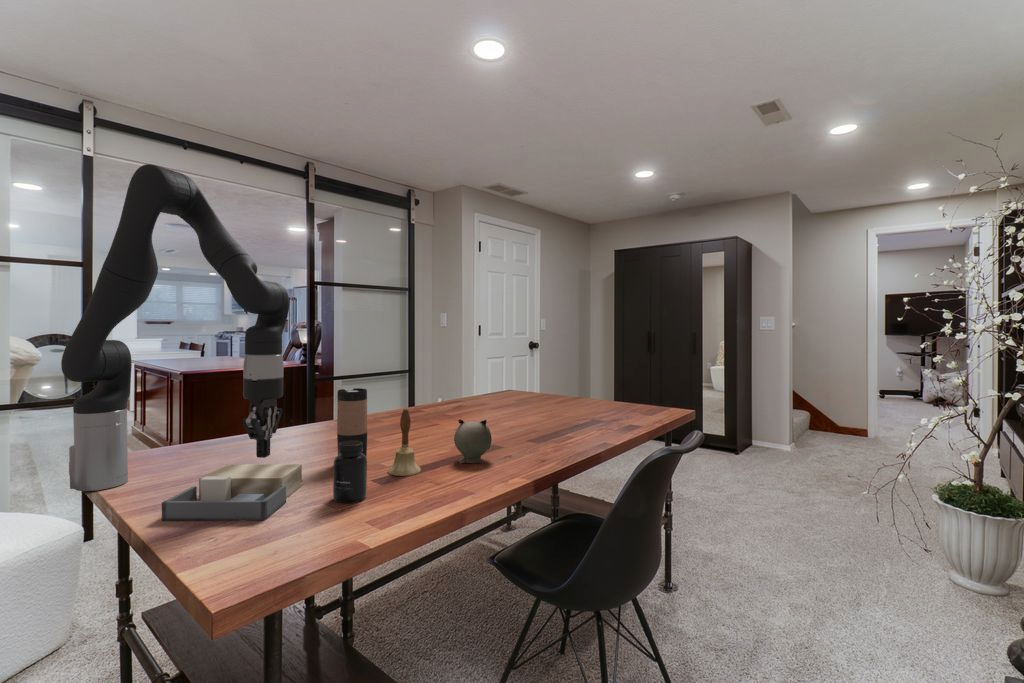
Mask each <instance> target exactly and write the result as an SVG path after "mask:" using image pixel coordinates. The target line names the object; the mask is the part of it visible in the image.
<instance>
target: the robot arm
mask: <svg viewBox="0 0 1024 683" xmlns="http://www.w3.org/2000/svg"><path fill="white" fill-rule="evenodd" d="M161 213H162V214H168V215H171V216H177V217H179V218H180V219H182V220H183V221H184V222H185V223H187V224H188V225H189V226H190V227H191V228H192V229H193V231H194V232H195V233H196V235H197V239H198V244H199V248H200V251H201V253H202V255H203V257H204V258H205V260H206V261H207V262H208V264H209V265H210V266H211V267H212V268H213V269H214V271H216V273H218V275H219V276H220V277H221V278H222V279H223V280H224V281H225V283H226V287H227V288H228V291H229V292H230V294H231V295H232V298H233V300H234V301H235V302H236V303H237V305H238V306H239V307H240V308H242V309H243V311H245V312H247V313H249V314H252V315H257V318H256V321H255V324H254V325H252V326H250V327H248V328H247V329H246V331H245V334H244V357H243V358H244V360H243V367H242V368H243V370H242V372H243V373H242V374H243V375H242V376H243V379H242V380H243V381H242V382H243V383H242V387H243V388H242V391H243V392H242V396H243V398H244V399H245V400H248V401H249V402H250V403H249V408H248V412H249V415H248V417H244V418H242V420H241V423H242V426H243V427H244V429H245V432H246V433H247V435H248V437H249V439H250V440H254V441H256V443H255V444H256V446H255V447H256V452H255V454H256V455H255V456H256V457H257V458H260V459H261V458H262V459H263V458H265V459H266V458H267V457H269V456H270V455H271V439H272V437H273V434H276V432H277V430H278V427H279V424H280V420H281V418H282V414H283V408H282V407H281V408H279V407H278V401H277V400H278V399H280V398H282V397H283V395H284V367H285V366H284V359H283V333H284V331H285V327H286V324H287V319H288V315H289V311H290V296H289V293H288V291H287V289H286V287H285V286H283V285H282V284H281V283H278V282H274V281H268V280H262V279H261V278H260V277H259V276H258V275H257V273H258V266H257V263H256V261H255V260H254V259H253V258H252V257H251V255H250V254H248V253H247V252H246V250H245V249H244V248H243V247H242V246H241V245H240V243H239V242H237V240H236V239H235V238H234V237H233V236H232V234H231V233H230V231H228V229H227V228H226V227H225V225H224V224H223V223H222V221H221V220H220V218H219V217H218V215H217V214H216V212H215V211H214V209H213V208H212V206H211V205H210V203H209V202H208V200H207V198H206V197H205V195H204V193H203V192H202V190H201V189H200V187H199V186H198V184H197V183H196V182H195V181H194V180H193V179H192V178H191V177H189V176H187V175H186V174H184V173H181V172H179V171H176V170H173V169H169V168H166V167H163V166H160V165H157V164H150V163H147V164H143V165H141V166H139V167H138V168H137V169H136V170H135V171H134V173H133V175H131V179H130V180H129V184H128V186H127V191H126V194H125V198H124V202H123V207H122V211H121V215H120V219H119V222H118V225H117V228H116V231H115V233H114V234H115V235H114V237H113V239H112V242H111V246H110V248H109V251H108V253H107V255H106V258H105V260H104V262H103V264H102V267H101V269H100V272H99V274H98V277H97V280H96V283H95V286H94V289H93V291H92V294H91V297H90V298H89V301H88V303H87V305H86V308H85V310H84V313H83V314H82V317H81V318H80V319H79V322H78V324H77V325H76V327H75V329H74V331H73V333H72V334H71V337H70V338H69V340H68V342H67V343H66V346H65V347H64V350H63V352H62V356H61V363H60V366H61V372H62V374H63V376H64V377H65V378H66V379H67V380H69V381H70V382H74V383H88V382H90V383H91V382H97V384H96V386H95V387H94V388H93V389H92V390H91V391H90V392H87V393H86V394H83V395H82V396H80V397H77V398H76V399H75V400H73V403H72V404H73V405H72V407H73V408H72V409H73V445H71V446H69V448H68V453H69V454H68V457H69V465H68V466H69V489H70V490H75V491H79V492H92V491H94V492H95V491H101V490H106V489H112V488H115V487H119V486H121V485H124V484H126V483H128V481H129V466H128V465H129V464H128V463H129V462H128V460H129V458H128V454H129V453H128V452H129V451H128V450H129V449H128V401H129V398H130V396H131V395H130V394H131V382H132V355H131V351H130V349H129V346H128V345H127V344H126V343H124V342H123V341H121V340H117V339H108V337H109V335H110V333H112V331H113V330H114V329H115V328H116V327H117V325H119V324H120V323H122V322H123V321H124V320H125V319H126V318H128V317H129V316H130V315H131V314H133V313H134V312H135V311H136V310H138V309H139V308H140V307H142V305H143V304H144V303H145V302H146V301H147V300H148V298H149V296H150V294H151V292H152V290H153V287H154V284H155V282H156V280H157V277H158V273H159V267H158V266H159V264H158V259H157V257H156V256H157V255H156V252H155V249H154V248H155V247H154V246H153V233H154V228H155V225H156V223H157V220H158V218H159V216H160V214H161Z"/></svg>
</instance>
